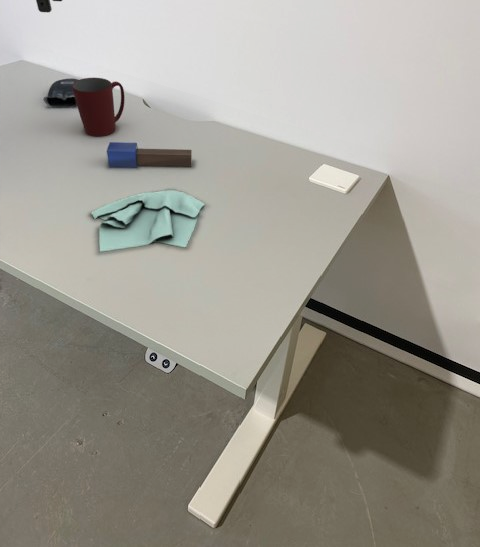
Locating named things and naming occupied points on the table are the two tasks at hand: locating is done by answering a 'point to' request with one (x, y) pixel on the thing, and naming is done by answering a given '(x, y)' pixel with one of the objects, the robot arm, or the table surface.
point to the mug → (97, 105)
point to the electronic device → (61, 94)
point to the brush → (146, 156)
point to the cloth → (148, 220)
